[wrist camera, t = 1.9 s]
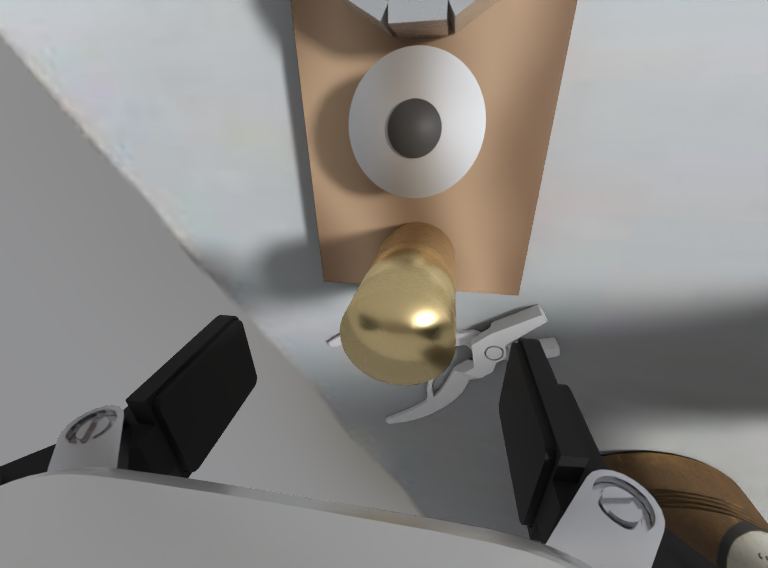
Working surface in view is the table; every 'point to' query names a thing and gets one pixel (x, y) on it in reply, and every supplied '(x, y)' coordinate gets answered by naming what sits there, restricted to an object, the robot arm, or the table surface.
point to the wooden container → (700, 507)
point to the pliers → (477, 359)
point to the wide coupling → (420, 15)
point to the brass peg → (405, 308)
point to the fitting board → (430, 133)
